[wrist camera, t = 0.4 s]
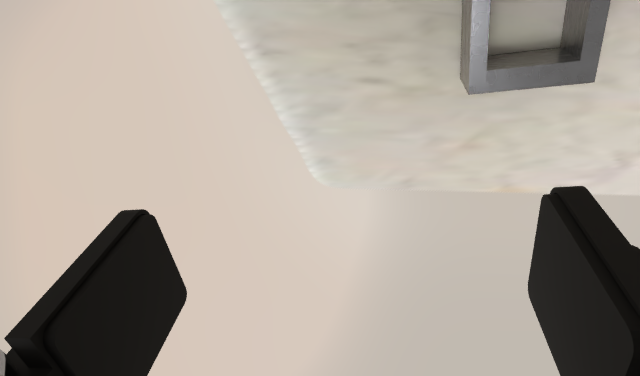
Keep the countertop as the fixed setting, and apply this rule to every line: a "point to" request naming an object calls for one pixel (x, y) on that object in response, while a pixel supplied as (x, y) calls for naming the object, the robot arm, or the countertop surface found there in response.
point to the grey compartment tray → (532, 66)
